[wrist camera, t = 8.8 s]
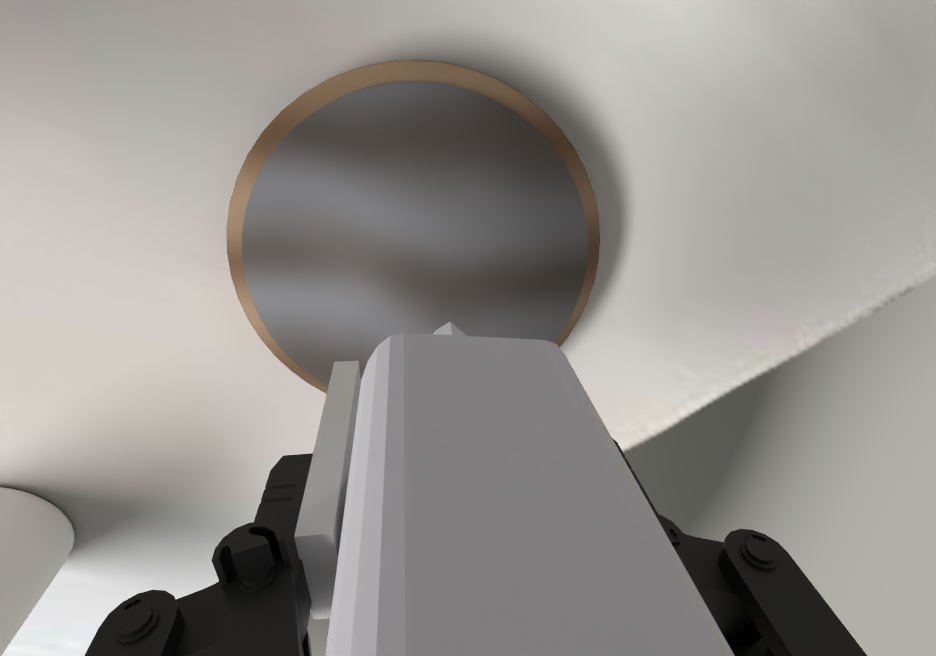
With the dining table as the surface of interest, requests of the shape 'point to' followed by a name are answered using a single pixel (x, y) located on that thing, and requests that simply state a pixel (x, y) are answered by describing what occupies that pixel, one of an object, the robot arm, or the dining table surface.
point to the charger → (499, 516)
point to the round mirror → (409, 217)
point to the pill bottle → (28, 555)
